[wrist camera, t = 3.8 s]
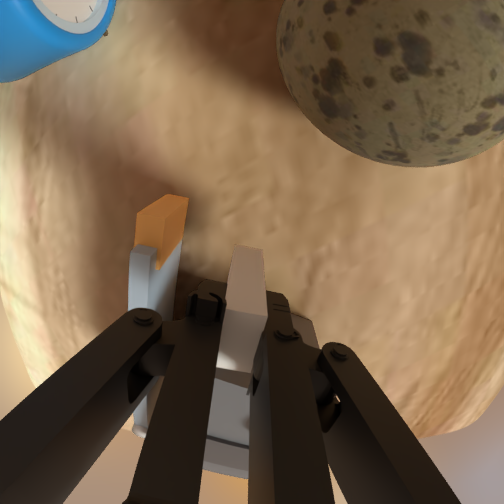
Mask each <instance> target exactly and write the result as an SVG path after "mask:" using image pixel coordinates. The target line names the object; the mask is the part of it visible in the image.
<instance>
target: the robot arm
mask: <svg viewBox="0 0 504 504" xmlns="http://www.w3.org/2000/svg"><path fill="white" fill-rule="evenodd" d="M216 367H219V368H224V369H230V370H235V371H241V372H247V373H251V370H252V367H253V375H252V378H251V381H250V384H249V387H248V390H247V393H246V395H249V393H250V417H249V474H248V504H335V501H334V495H333V489H332V483H331V478H330V472H329V467H328V464H329V466H330V468H331V470H332V472H333V474H334V477H335V479H336V480H337V483H338V485H339V487H340V489H341V491H342V493H343V495H344V497H345V499H346V501H347V503H348V504H461V503H460V501H459V500H458V498H457V497H456V495H455V494H454V492H453V491H452V489H451V488H450V486H449V485H448V483H447V482H446V480H445V479H444V477H443V476H442V474H441V473H440V472H439V470H438V469H437V467H436V466H435V464H434V463H433V462H432V460H431V458H430V457H429V456H428V454H427V453H426V451H425V450H424V448H423V447H422V446H421V444H420V443H419V441H418V440H417V438H416V437H415V436H414V434H413V433H412V431H411V430H410V428H409V427H408V426H407V424H406V423H405V421H404V420H403V419H402V417H401V416H400V414H399V413H398V412H397V410H396V409H395V407H394V406H393V405H392V403H391V402H390V401H389V399H388V398H387V396H386V395H385V394H384V392H383V391H382V389H381V388H380V387H379V385H378V384H377V383H376V381H375V380H374V378H373V377H372V376H371V374H370V373H369V372H368V370H367V369H366V368H365V366H364V365H363V363H362V362H361V361H360V359H359V358H358V357H357V355H356V354H355V353H354V352H353V351H352V350H351V349H350V348H349V347H347V346H346V345H344V344H341V343H336V342H330V343H326V344H325V345H324V346H323V347H322V350H321V349H318V348H315V347H312V346H309V345H307V344H305V343H304V342H303V339H302V336H301V334H300V333H299V332H298V331H297V330H296V329H294V328H293V323H292V318H291V313H290V308H289V303H288V300H287V299H286V297H285V296H284V295H283V294H281V293H276V292H271V291H266V288H265V275H264V263H263V251H262V250H261V249H256V248H251V247H247V246H242V245H237V244H235V247H234V252H233V256H232V261H231V266H230V271H229V275H228V280H227V284H226V283H221V282H217V281H212V280H207V279H206V280H204V281H203V282H201V283H200V284H199V287H198V290H196V291H193V292H191V293H190V294H189V295H188V300H187V307H186V315H185V318H183V319H181V320H177V321H163V320H162V316H161V315H160V314H159V313H158V312H156V311H154V310H152V309H149V308H134V309H131V310H129V311H128V312H126V313H125V314H124V315H123V316H121V317H120V318H119V319H118V320H117V321H115V322H114V323H113V324H112V325H110V326H109V327H108V328H107V329H106V330H104V331H103V332H102V333H101V334H100V335H98V336H97V337H96V338H95V339H94V340H92V341H91V342H90V343H89V344H88V345H86V346H85V347H84V348H83V349H82V350H80V351H79V352H78V353H77V354H76V355H74V356H73V357H72V358H71V359H70V360H69V361H67V362H66V363H65V364H64V365H63V366H62V367H60V368H59V369H58V370H57V371H56V372H55V373H53V374H52V375H51V376H50V377H49V378H48V379H46V380H45V381H44V382H43V383H42V384H41V385H40V386H38V387H37V388H36V389H35V390H34V391H33V392H32V393H31V394H29V395H28V396H27V397H26V398H25V399H24V400H23V401H22V402H20V403H19V404H18V405H17V406H16V407H15V408H14V409H13V410H12V411H11V412H10V413H8V414H7V415H6V416H5V417H4V418H3V419H2V420H1V421H0V504H63V502H64V501H65V500H66V498H67V497H68V496H69V495H70V493H71V492H72V491H73V489H74V488H75V487H76V486H77V484H78V483H79V482H80V480H81V479H82V478H83V477H84V475H85V474H86V473H87V471H88V470H89V469H90V468H91V466H92V465H93V464H94V462H95V461H96V460H97V458H98V457H99V456H100V455H101V453H102V452H103V451H104V449H105V448H106V447H107V446H108V444H109V443H110V442H111V440H112V439H113V438H114V436H115V435H116V434H117V432H118V431H119V430H120V429H121V427H122V426H123V425H124V423H125V422H126V421H127V420H128V418H129V417H130V416H131V414H132V413H133V412H134V410H135V409H136V408H137V407H138V405H139V404H140V403H141V401H142V400H143V399H144V397H145V396H146V395H147V394H148V392H149V391H150V390H151V388H152V387H153V386H154V384H155V383H156V382H157V381H158V379H159V376H164V379H163V383H162V386H161V389H160V392H159V395H158V398H157V401H156V404H155V407H154V410H153V414H152V417H151V420H150V423H149V427H148V430H147V433H146V436H145V440H144V443H143V446H142V450H141V453H140V457H139V460H138V464H137V467H136V471H135V474H134V478H133V482H132V485H131V489H130V492H129V496H128V497H127V499H126V500H125V501H124V502H123V503H122V504H198V501H199V492H200V485H201V476H202V469H203V461H204V453H205V445H206V438H207V430H208V423H209V415H210V408H211V401H212V394H213V387H214V380H215V373H216ZM336 396H338V398H339V400H340V402H339V401H338V400H337V398H336Z"/></svg>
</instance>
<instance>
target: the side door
mask: <svg viewBox="0 0 504 504" xmlns="http://www.w3.org/2000/svg"><path fill="white" fill-rule="evenodd" d="M188 202H189V198H187V197H181V196H176V195H171V194H166V195H165V196H163V197H161V198H160V199H158V200H157V201H155V202H153V203H152V204H150V205H149V206H147V207H145V208H144V209H142V210H141V211H139V212H138V213H137V218H136V229H135V240H134V248H133V249H132V250H131V251H130V262H129V287H128V311H129V310H131V309H134V308H149V309H152V310H154V311H156V312H158V313H159V314H160V315H161V316H162V320H163V321H173V311H174V301H175V292H176V284H177V276H178V268H179V260H180V253H181V245H182V239H183V233H184V226H185V220H186V214H187V208H188ZM163 379H164V376H159V379H158V381H157V382H156V383H155V384H154V386H153V387H152V388H151V390H150V391H149V392H148V394H147V395H146V396H145V397H144V399H143V400H142V401H141V403H140V404H139V405H138V407H137V408H136V409H135V410H134V412H133V415H134V425H133V428H132V432H133V433H134V434H135V435H137V436H139V437H142V438H145V436H146V433H147V430H148V427H149V423H150V420H151V417H152V414H153V410H154V407H155V404H156V401H157V398H158V395H159V392H160V389H161V386H162V383H163Z"/></svg>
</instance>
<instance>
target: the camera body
mask: <svg viewBox="0 0 504 504" xmlns="http://www.w3.org/2000/svg"><path fill="white" fill-rule="evenodd" d="M291 318H292V323H293V328H294V329H296V330H297V331H298V332H299V333H300V334H301V336H302V339H303V342H304V343H305V344H307V345H309V346H312V347H315V348H318V349H319V345H318V341H317V338H316V334H315V330H314V327H313V323H312V321H310V320H307V319H305V318H302V317H299V316H297V315H294V314H292V313H291ZM252 375H253V367H252V370H251V373H247V372H241V371H235V370H230V369H224V368H219V367H216V373H215V380H214V387H213V394H212V401H211V408H210V415H209V423H208V430H207V438H206V445H205V453H204V461H203V469H204V470H208V471H211V472H216V473H220V474H224V475H229V476H234V477H239V478H244V479H248V474H249V417H250V393H249V395H246V393H247V390H248V387H249V384H250V381H251V378H252Z"/></svg>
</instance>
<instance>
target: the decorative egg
mask: <svg viewBox="0 0 504 504" xmlns="http://www.w3.org/2000/svg"><path fill="white" fill-rule="evenodd" d="M276 48H277V57H278V62H279V66H280V70H281V73H282V76H283V79H284V81H285V84H286V86H287V88H288V90H289V92H290V94H291V96H292V98H293V99H294V101H295V102H296V104H297V105H298V107H299V108H300V110H301V111H302V112H303V113H304V115H305V116H306V117H307V118H308V119H309V120H310V121H311V122H312V124H313V125H315V126H316V127H317V128H318V129H319V130H320V131H321V132H322V133H323V134H325V135H326V136H327V137H329V138H330V139H331V140H333V141H334V142H336V143H337V144H339V145H340V146H342V147H344V148H345V149H347V150H349V151H351V152H353V153H355V154H357V155H359V156H362V157H365V158H368V159H370V160H373V161H377V162H380V163H384V164H389V165H394V166H402V167H434V166H441V165H446V164H451V163H455V162H458V161H462V160H465V159H468V158H471V157H473V156H476V155H478V154H480V153H482V152H484V151H486V150H488V149H490V148H491V147H493V146H494V145H496V144H498V143H499V142H500V141H502V140H503V139H504V0H284V2H283V5H282V7H281V10H280V14H279V18H278V23H277V30H276Z"/></svg>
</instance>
